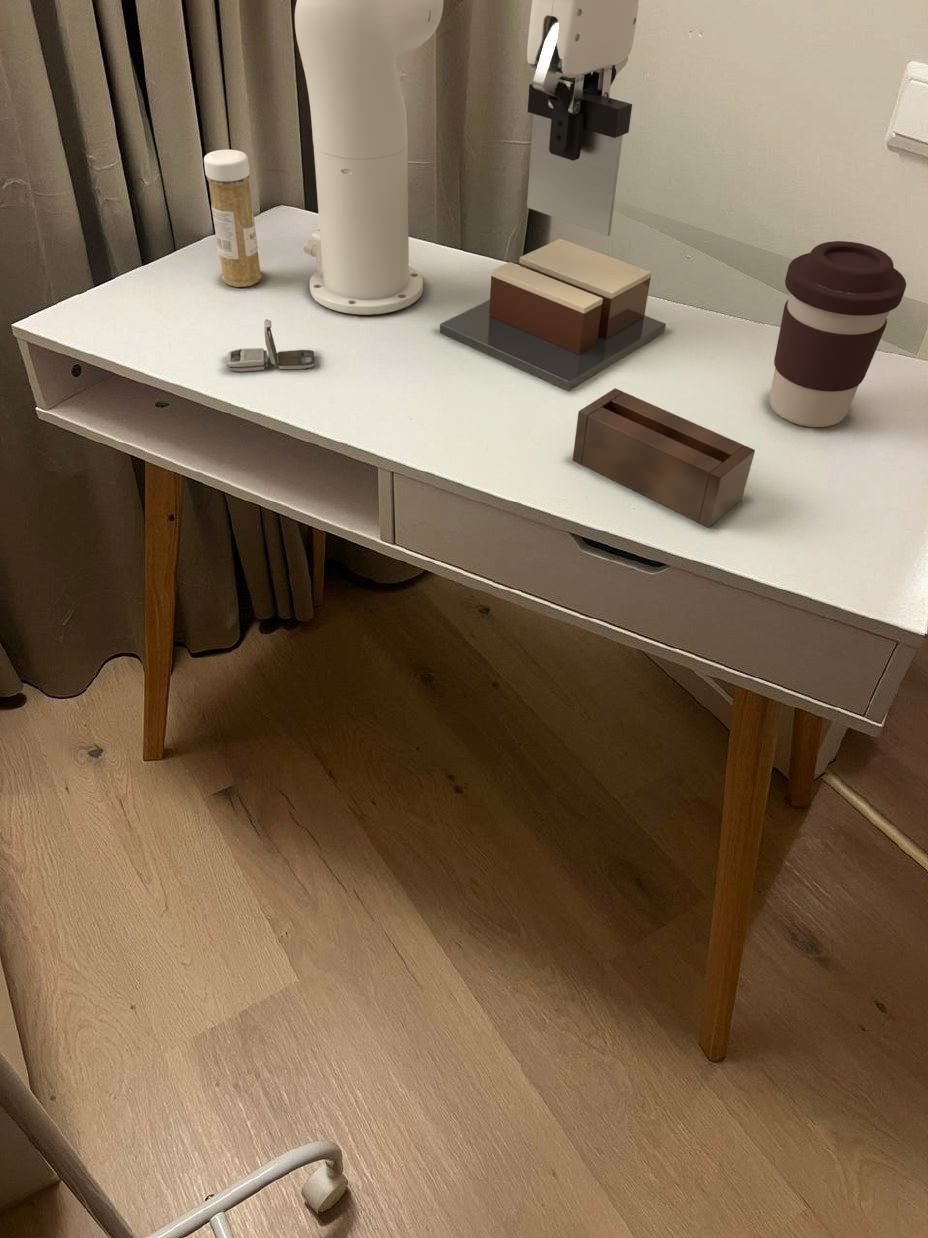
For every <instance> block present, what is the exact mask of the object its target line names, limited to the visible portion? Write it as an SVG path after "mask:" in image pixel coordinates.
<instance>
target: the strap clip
mask: <svg viewBox="0 0 928 1238" xmlns="http://www.w3.org/2000/svg"><path fill="white" fill-rule="evenodd" d="M263 321H264V325H263V326H264V329H263V330H264V331H263V332H264V342H265V346H266V350H265V349H264V348H262V347H257V348H256V347H251V348H250V347H249V348H247V347H246V348H245V347H243V348H237V349H233V350H230V351H228V352H227V361H226V363H227V364H226V365H227V369H228V370H230V371H232V372H233V371H234V372H241V373H242V372H255V371H264V370H265V369H266V368H268V365H269V364H268V357H269V360H270V363H271V364H272V365H273V366H275V368H278V369H279V370H303V369H307V368H311V367H313V366H315V364H316V363H315V361H316V360H315V352H314V350H312V349H298V350H297V349H295V350H282V351H277V347H276V343H275V341H274V336H273V332H272V321H271V320H270V319H264V320H263ZM305 356H310V360H311V361H309V362H303V357H305ZM233 359H234V360H239V361H233Z"/></svg>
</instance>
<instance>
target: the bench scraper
mask: <svg viewBox="0 0 928 1238" xmlns="http://www.w3.org/2000/svg"><path fill="white" fill-rule="evenodd" d="M567 87H568V89H569V90H570V86H568V85H567ZM527 97H528V99H527V113H529V114H532V126H531V140H530V142H531V143H530V156H529V167H528V168H529V170H528V183H527V196H526V208H528V209H529V210H533V211H536V212H538V213H541V214H544V215H546V216H550V217H552V218H555V219H558V220H561V221H563V222H567V223H569V224H572V225H574V226H577V227H581V228H583V229H585V230H589V231H592V232H595V233H598V234H599V235H602V236H606V237H609V236H611V230H612V223H613V216H614V206H615V200H616V199H615V198H616V191H617V185H618V178H619V177H618V176H619V169H620V160H621V154H622V145H623V139H624V138H623V137H624V135H626V134H629V132H630V127H631V126H630V125H631V118H632V110H633V104H632V103H630V102H626V101H624V100H623V101H622V100H620V99H619V100H618V99H616V98H612V97H609V98H608V97H605V96H601V95H598V94H594V93H590V92H587V91H583V90H582V99H581V107H580V111H579V112H581V113H584V120H583V131H582V141H581V151H580V157H579V159H577V160H574V161H572V160H569V159H566V158H563V157H560V156H557V155H554V154H551V153H550V151H549V143H550V130H551V118H552V108H550V107H549V105H548V100H549V99H548V98H547V96H546V94H545V93H543V92H541V91H539V90H537V89H535V88H534V87H533V82H532V83H529V84H528V96H527Z"/></svg>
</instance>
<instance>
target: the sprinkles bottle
mask: <svg viewBox="0 0 928 1238" xmlns="http://www.w3.org/2000/svg"><path fill="white" fill-rule="evenodd" d="M203 165H204V172H205V173H204V174H205V176H206V180H207V181H208V188H209V194H210V202H211V212H212V219H213V225H214V226H213V227H214V232H215V238H216V239H215V240H216V244H217V251H218V254H219V261H220V266H221V280H222V282H223V283H224V284H226V285H228V286H231V287H234V288H235V287H237V288H242V287H243V288H244V287H250V286H253V285H256V284H258V283H259V282H260V281H261V280H262V278H263V276H262V275H263V274H262V271H261V265H260V258H259V251H258V250H259V246H258V239H257V230H256V224H255V217H254V216H255V215H254V208H253V204H252V195H251V189H250V173H251V172H250V163H249V157H248V155H247V154H246V153H245V152H243V151H241V150H237V149H218V150H213V151H211V152H208V153H207V154H205V156H204V157H203Z"/></svg>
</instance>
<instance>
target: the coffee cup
mask: <svg viewBox="0 0 928 1238" xmlns="http://www.w3.org/2000/svg"><path fill="white" fill-rule="evenodd" d="M894 266H895V265H894V261H893V259H892V258H891V257H890V256H889V255H888V254H887V253H886V252H884V251H883V250H881V249H879V248H876V247H875V246H871V245H868V244H865V243H860V242H855V241H846V240H845V241H843V240H834V241H826V242H822V243H820V244H817V245H816V246H814V247H813V248H812V249H811V251H809V252H807V253H804V254H801V255H799V256H797V257H795V258H793V259H792V260H791V261H790V263H789V265H788V267H787V271H786V275H785V279H784V285H785V288H786V290H787V291H788V292H789V293H788V299H787V300H786V301H785V303H784V307H783V311H782V317H781V322H780V327H779V333H778V337H777V344H776V349H775V354H774V359H773V364H774V372H773V378H772V382H771V388H770V393H769V404H770V407H771V409H772V410H773V412H774V413H775V414H777V415H778V416H779V417H781V418H782V419H783V420H786V421H788V422H790V423H792V424H796V425H799V426H803V427H810V428H825V427H831V426H834V425H836V424H839V423H840V422H842V421H843V420H844V419H845V417H846V416H847V414H848V412H849V410H850V407H851V405H852V402H853V400H854V397H855V396H856V393H857V390H858V388H859V386H860V385H861V384H862V382H863V381H864V379H865V377H866V375H867V373H868V370H869V368H870V366H871V363H872V360H873V359H874V356H875V354H876V352H877V349H878V346H879V344H880V341H881V339H882V337H883V335H884V333H885V330H886V327H887V325H888V316H889V313H890V312H891V311H893V310H895V309H897V308H898V306H899V305H900V304H901V302H902V300H903V298H904V295H905V291H906V288H907V281H906V279H905V276H904V275H903V274H902V273H901V272H900V271H899V270H897V269H896V268H895V267H894Z"/></svg>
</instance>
